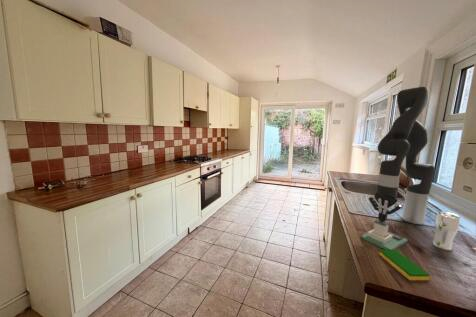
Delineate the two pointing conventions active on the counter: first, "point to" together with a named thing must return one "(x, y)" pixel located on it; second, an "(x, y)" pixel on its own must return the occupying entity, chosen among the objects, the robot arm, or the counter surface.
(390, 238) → the board
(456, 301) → the counter surface
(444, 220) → the beer glass
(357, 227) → the counter surface
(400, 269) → the dish sponge
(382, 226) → the plug
